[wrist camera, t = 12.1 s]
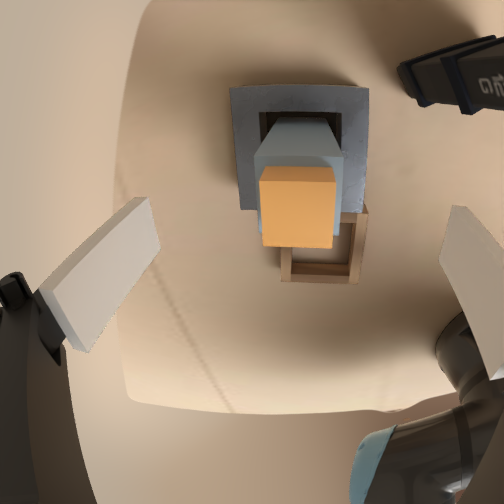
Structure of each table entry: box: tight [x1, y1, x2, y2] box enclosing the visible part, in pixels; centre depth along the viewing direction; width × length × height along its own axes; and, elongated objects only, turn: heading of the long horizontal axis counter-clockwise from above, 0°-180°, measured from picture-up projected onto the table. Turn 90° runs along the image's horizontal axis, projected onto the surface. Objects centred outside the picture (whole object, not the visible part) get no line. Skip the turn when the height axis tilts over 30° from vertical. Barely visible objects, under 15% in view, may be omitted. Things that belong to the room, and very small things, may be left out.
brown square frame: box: [280, 204, 368, 284], centre depth 29 cm, size 8×8×2 cm
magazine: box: [397, 35, 504, 115], centre depth 13 cm, size 4×13×15 cm, turn 121°
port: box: [230, 84, 369, 213], centre depth 23 cm, size 10×10×4 cm
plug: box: [254, 117, 344, 248], centre depth 18 cm, size 4×4×15 cm
